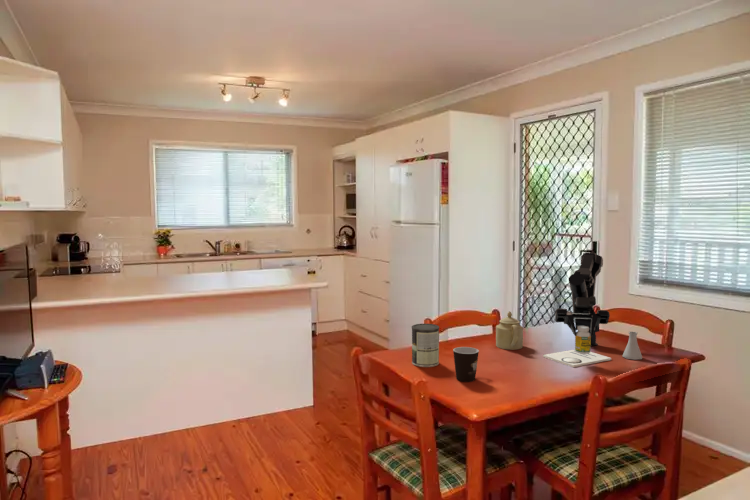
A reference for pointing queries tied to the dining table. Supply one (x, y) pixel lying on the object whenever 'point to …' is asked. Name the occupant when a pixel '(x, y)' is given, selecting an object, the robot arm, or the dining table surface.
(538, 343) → the dining table surface
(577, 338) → the supplement bottle
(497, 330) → the sugar bowl
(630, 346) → the flask
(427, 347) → the coffee can
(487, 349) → the dining table surface
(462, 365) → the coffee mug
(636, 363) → the dining table surface
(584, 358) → the notepad
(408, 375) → the dining table surface
